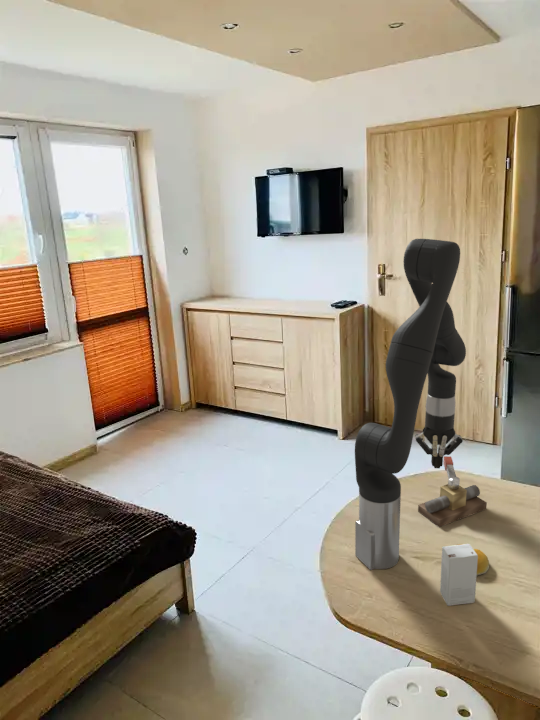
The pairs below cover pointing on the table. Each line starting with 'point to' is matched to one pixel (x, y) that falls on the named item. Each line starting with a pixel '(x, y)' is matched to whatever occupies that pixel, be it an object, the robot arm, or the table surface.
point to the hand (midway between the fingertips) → (436, 466)
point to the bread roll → (481, 562)
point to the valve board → (453, 514)
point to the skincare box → (458, 574)
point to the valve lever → (451, 473)
